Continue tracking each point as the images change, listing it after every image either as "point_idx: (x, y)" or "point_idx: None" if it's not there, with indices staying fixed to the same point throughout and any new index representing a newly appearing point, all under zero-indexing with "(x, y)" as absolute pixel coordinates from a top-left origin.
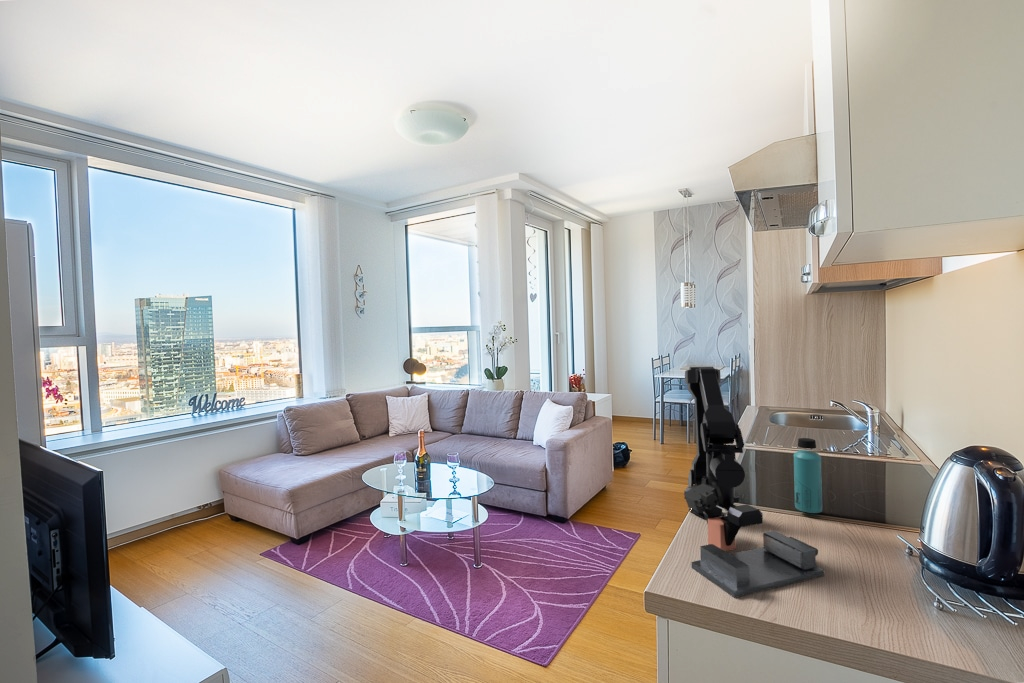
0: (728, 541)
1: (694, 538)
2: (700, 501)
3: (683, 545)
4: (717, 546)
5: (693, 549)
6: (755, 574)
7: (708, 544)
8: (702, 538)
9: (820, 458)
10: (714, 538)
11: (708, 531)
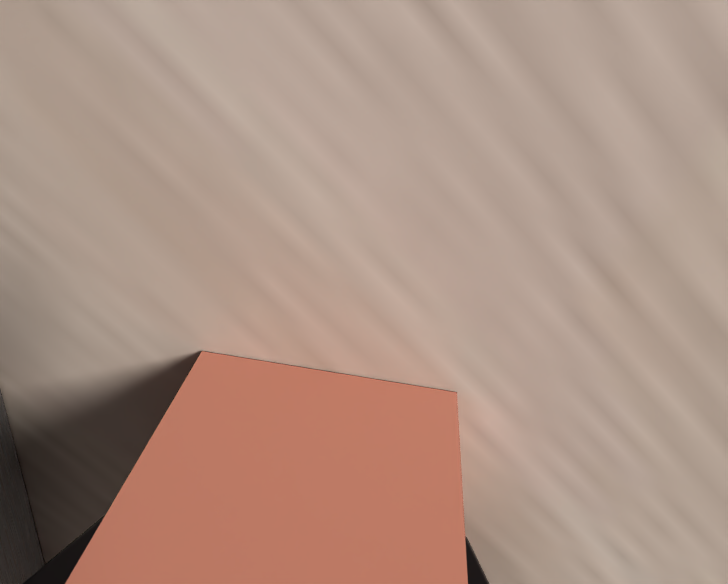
0: None
1: (724, 393)
2: None
3: (718, 18)
4: (247, 395)
5: (471, 63)
6: None
7: (449, 392)
8: (635, 468)
9: None
10: (293, 486)
11: (452, 576)
